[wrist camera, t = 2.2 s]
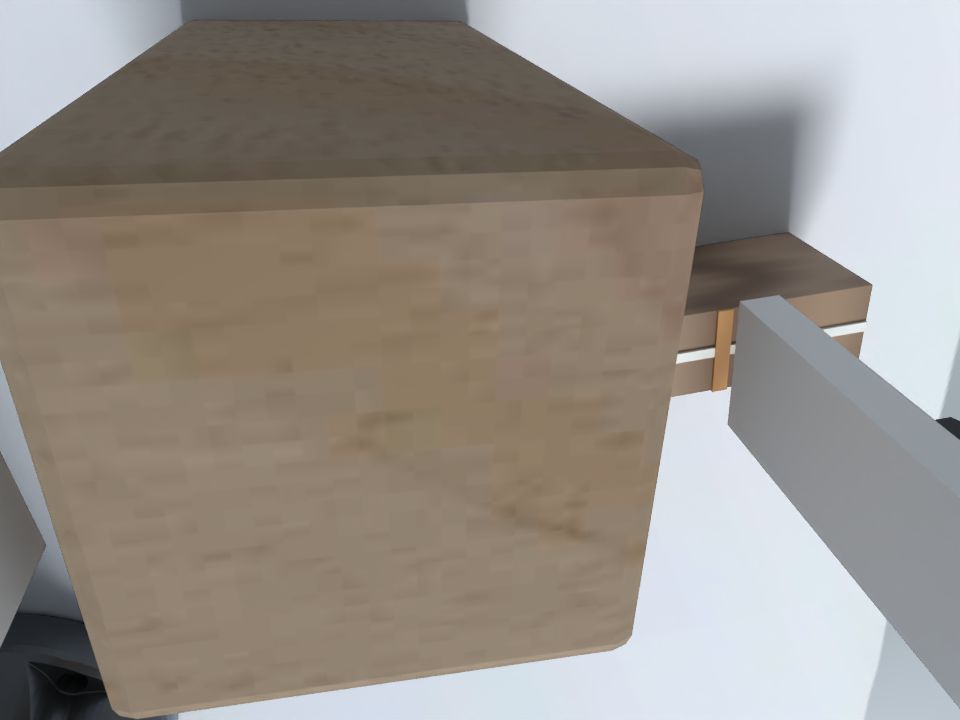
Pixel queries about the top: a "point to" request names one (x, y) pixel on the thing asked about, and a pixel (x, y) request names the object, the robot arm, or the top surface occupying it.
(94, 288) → the wooden block
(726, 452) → the top surface
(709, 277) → the brown wooden bar
